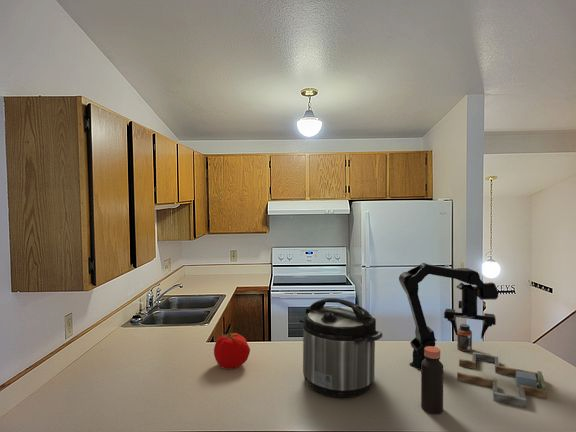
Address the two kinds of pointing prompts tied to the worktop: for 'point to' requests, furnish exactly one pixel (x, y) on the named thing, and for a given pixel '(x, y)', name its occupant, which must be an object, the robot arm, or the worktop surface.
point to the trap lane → (493, 383)
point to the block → (526, 379)
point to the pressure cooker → (339, 348)
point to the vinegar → (432, 381)
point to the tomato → (231, 351)
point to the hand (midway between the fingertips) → (469, 336)
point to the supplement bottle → (464, 338)
